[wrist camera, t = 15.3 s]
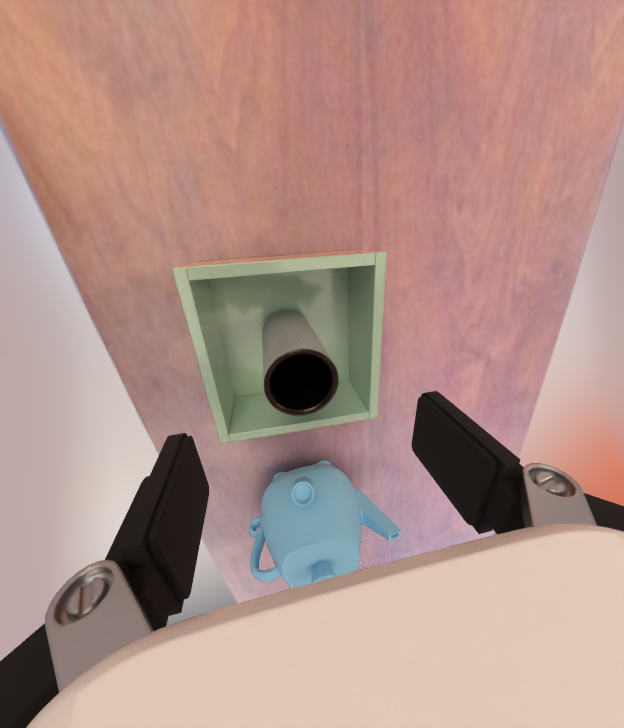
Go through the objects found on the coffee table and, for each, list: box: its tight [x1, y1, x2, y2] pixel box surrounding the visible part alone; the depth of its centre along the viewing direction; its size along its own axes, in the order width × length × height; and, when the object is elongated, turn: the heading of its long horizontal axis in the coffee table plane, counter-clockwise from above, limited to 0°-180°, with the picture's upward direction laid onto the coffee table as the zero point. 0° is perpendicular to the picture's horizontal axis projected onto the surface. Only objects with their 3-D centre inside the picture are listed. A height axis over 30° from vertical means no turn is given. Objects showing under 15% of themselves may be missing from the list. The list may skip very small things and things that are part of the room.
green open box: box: [172, 250, 387, 444], centre depth 22 cm, size 14×14×7 cm
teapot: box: [249, 460, 401, 589], centre depth 30 cm, size 15×14×11 cm
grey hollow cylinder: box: [262, 309, 339, 416], centre depth 20 cm, size 4×4×10 cm
